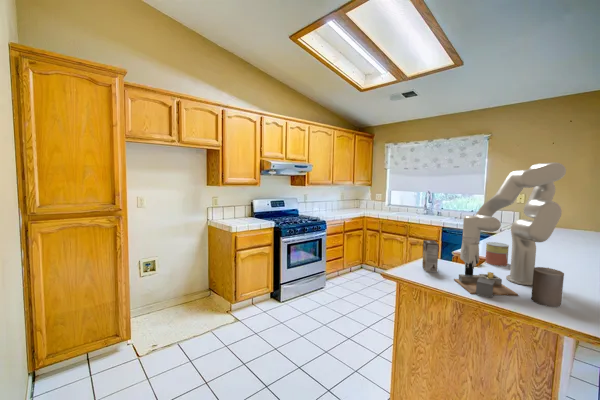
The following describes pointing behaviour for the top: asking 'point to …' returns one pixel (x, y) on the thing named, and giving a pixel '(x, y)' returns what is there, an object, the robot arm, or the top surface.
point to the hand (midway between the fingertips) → (468, 275)
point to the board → (496, 289)
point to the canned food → (497, 254)
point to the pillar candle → (547, 286)
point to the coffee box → (430, 255)
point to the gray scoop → (475, 277)
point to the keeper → (485, 287)
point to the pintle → (490, 275)
